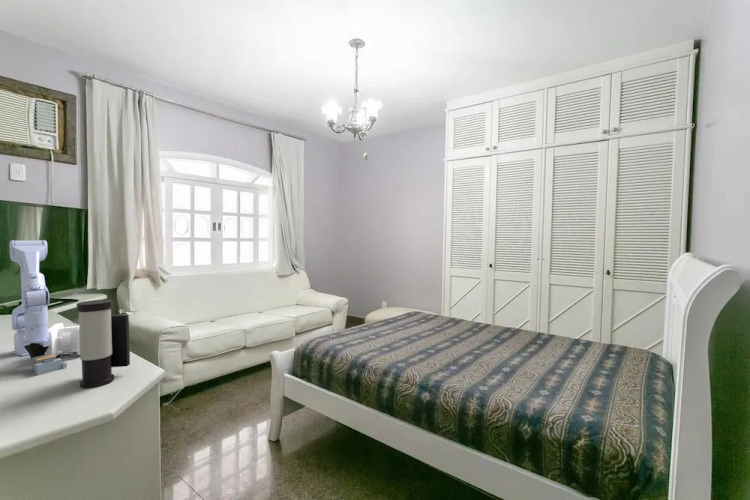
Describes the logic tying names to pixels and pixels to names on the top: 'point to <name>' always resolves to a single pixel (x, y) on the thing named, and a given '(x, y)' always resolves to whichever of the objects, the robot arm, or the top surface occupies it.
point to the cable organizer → (63, 339)
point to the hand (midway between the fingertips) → (38, 364)
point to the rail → (64, 365)
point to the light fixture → (101, 342)
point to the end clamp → (48, 366)
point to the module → (41, 359)
